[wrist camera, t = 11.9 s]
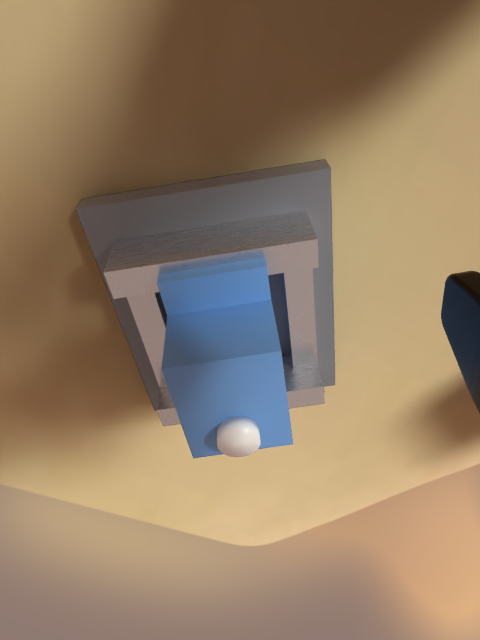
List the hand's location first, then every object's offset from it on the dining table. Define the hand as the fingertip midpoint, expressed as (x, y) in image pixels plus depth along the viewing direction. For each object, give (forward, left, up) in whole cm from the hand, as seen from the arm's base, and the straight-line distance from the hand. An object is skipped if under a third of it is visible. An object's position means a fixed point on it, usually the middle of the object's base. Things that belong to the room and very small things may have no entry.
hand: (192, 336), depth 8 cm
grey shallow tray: (0, +8, -12) cm, 14 cm away
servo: (0, +8, -11) cm, 13 cm away
